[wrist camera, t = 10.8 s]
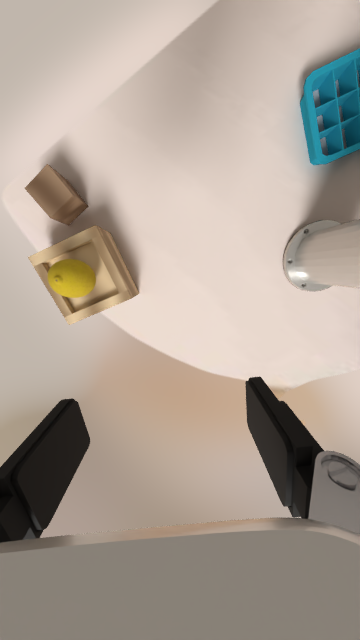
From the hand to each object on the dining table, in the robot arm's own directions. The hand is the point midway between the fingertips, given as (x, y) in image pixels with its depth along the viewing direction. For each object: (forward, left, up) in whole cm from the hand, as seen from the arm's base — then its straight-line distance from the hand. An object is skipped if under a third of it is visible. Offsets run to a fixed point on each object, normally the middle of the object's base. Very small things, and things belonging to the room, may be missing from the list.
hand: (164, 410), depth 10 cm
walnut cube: (+16, -21, -28) cm, 39 cm away
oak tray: (+14, -8, -28) cm, 33 cm away
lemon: (+14, -8, -23) cm, 28 cm away
